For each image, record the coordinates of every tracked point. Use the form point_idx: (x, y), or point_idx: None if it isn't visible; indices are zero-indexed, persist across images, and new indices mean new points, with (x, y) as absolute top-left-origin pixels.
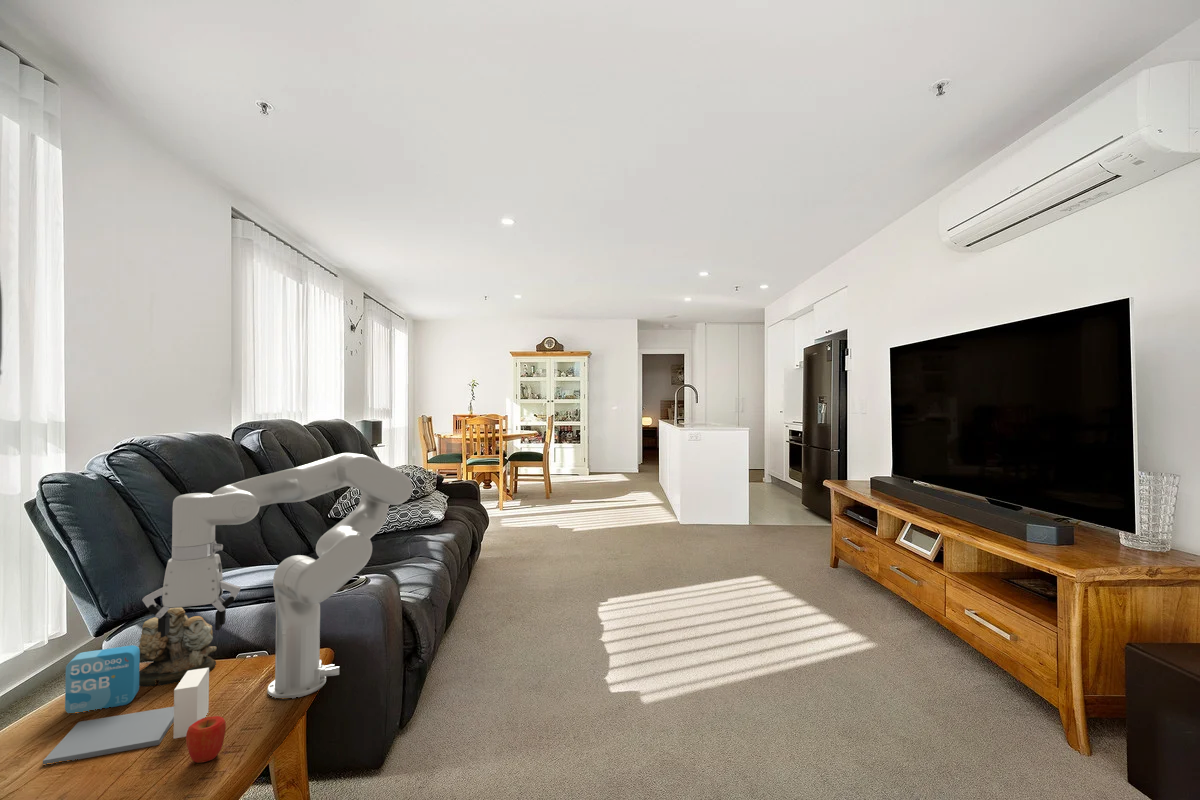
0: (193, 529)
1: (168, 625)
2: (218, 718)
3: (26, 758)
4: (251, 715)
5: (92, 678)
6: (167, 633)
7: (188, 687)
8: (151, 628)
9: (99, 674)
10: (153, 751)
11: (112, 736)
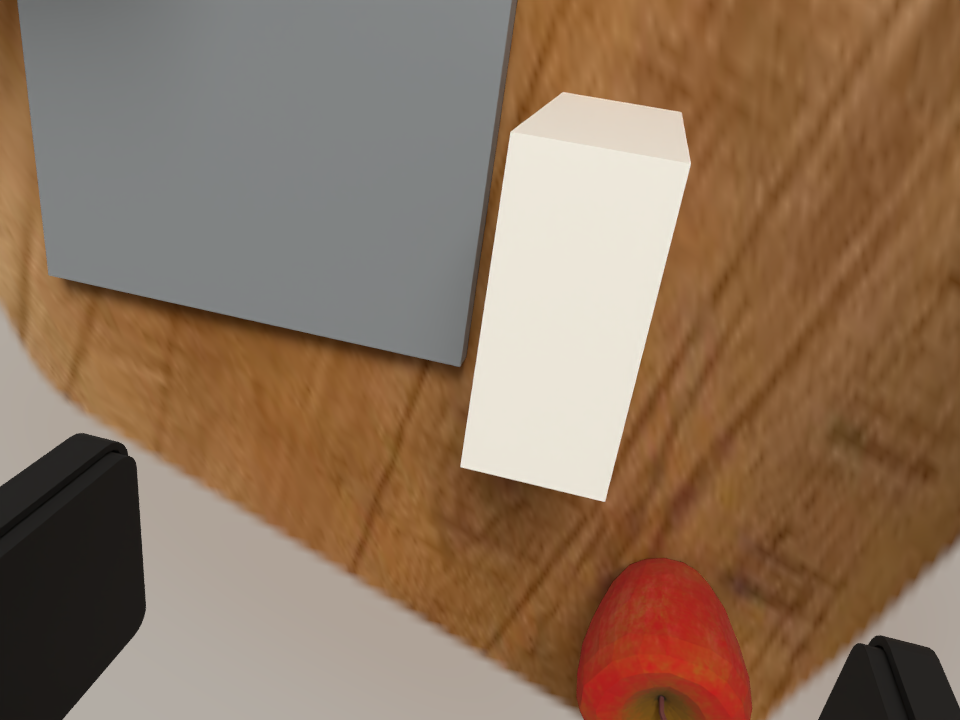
0: None
1: (57, 573)
2: (719, 716)
3: None
4: (911, 305)
5: None
6: (139, 530)
7: (547, 485)
8: None
9: None
10: (453, 402)
11: (243, 200)
